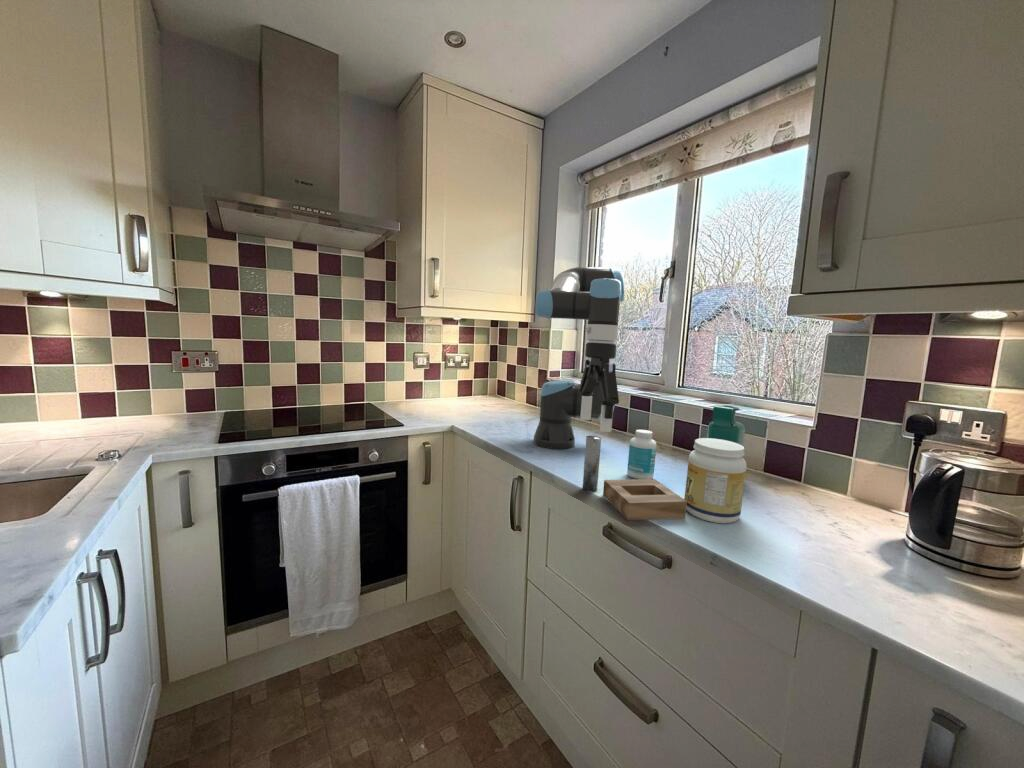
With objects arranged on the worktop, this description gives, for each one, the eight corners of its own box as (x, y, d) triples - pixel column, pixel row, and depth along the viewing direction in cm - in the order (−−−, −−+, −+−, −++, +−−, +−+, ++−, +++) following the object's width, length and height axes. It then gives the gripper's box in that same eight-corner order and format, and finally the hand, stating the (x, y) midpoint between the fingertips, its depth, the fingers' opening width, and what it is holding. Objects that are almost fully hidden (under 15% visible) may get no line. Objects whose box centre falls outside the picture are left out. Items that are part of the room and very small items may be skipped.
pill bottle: (655, 482, 116) (659, 435, 114) (627, 479, 118) (632, 433, 116) (651, 473, 123) (655, 429, 122) (626, 470, 125) (629, 427, 123)
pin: (580, 486, 110) (584, 435, 108) (593, 486, 110) (597, 435, 109) (585, 492, 106) (589, 439, 104) (599, 491, 107) (603, 439, 105)
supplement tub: (682, 499, 105) (689, 434, 103) (735, 508, 101) (744, 441, 99) (683, 518, 94) (691, 445, 91) (744, 530, 89) (753, 454, 87)
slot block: (602, 495, 105) (604, 480, 104) (653, 493, 107) (654, 479, 107) (627, 520, 91) (629, 502, 91) (685, 518, 94) (687, 501, 93)
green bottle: (710, 471, 128) (718, 402, 126) (740, 479, 123) (749, 406, 120) (698, 478, 122) (707, 404, 119) (729, 486, 116) (739, 409, 113)
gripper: (571, 340, 115) (565, 415, 117) (607, 342, 91) (599, 437, 93) (596, 341, 116) (590, 415, 119) (639, 344, 92) (630, 437, 94)
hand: (594, 425), depth 106 cm, fingers open, 13 cm apart
